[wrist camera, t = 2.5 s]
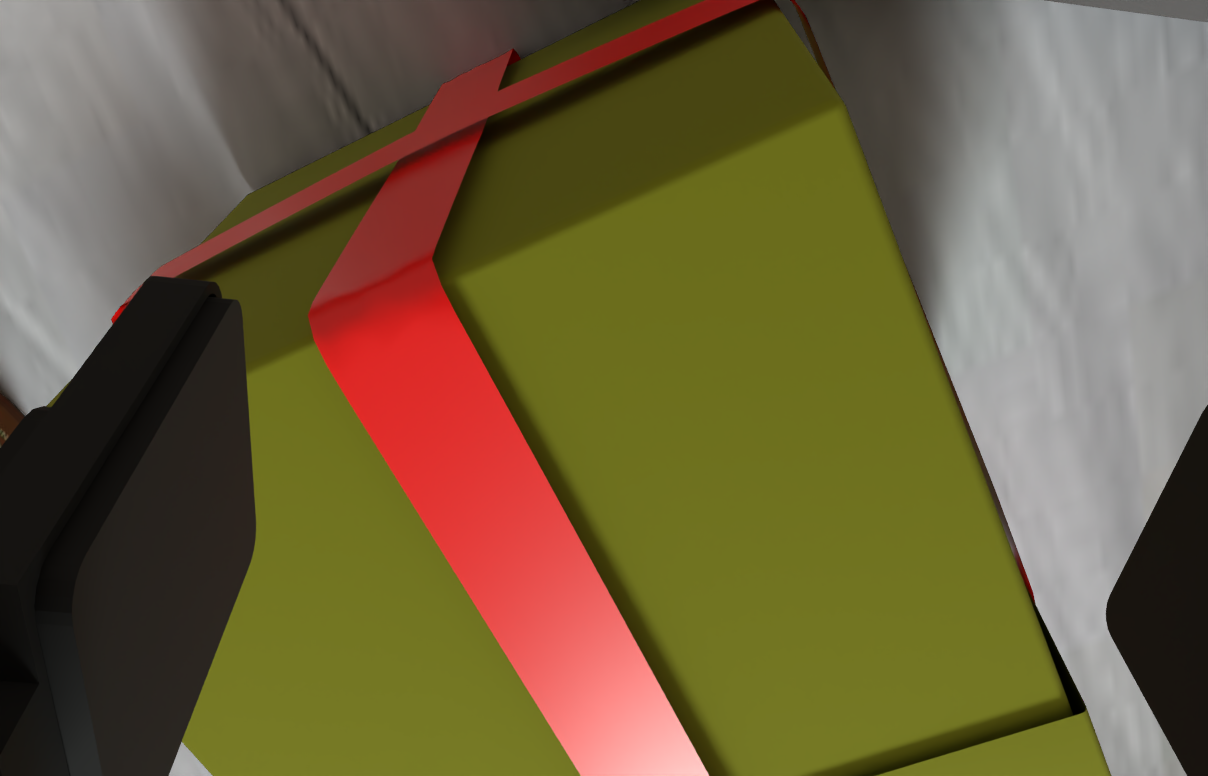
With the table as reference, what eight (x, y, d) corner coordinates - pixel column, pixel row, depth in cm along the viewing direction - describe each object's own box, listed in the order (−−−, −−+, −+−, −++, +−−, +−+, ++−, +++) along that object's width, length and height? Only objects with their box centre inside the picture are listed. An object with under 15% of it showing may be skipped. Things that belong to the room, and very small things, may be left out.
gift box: (278, 138, 38) (593, 639, 48) (-199, 524, 21) (447, 1168, 31) (852, -133, 30) (1078, 538, 41) (843, 133, 13) (1237, 1173, 23)
